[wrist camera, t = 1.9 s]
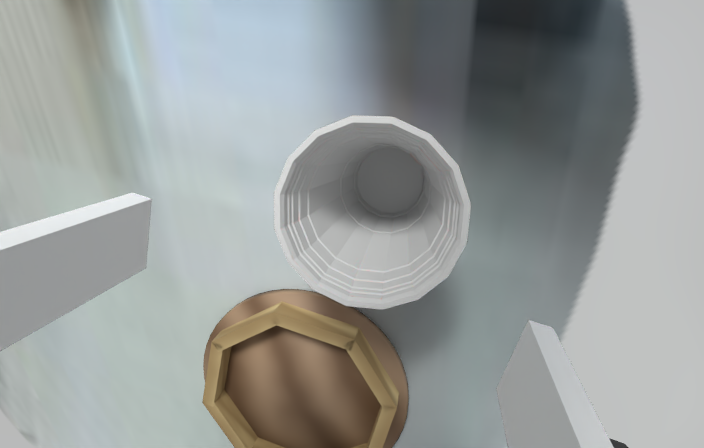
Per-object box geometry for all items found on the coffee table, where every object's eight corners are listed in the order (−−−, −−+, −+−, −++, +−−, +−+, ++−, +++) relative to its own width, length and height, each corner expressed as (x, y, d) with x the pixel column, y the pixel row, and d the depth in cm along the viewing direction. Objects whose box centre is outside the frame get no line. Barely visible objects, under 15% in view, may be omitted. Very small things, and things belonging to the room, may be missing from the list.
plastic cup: (490, 165, 31) (519, 202, 19) (404, 265, 34) (388, 345, 23) (376, 80, 31) (340, 68, 19) (303, 190, 34) (237, 234, 23)
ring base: (337, 253, 35) (328, 266, 33) (447, 435, 39) (448, 461, 36) (171, 336, 42) (153, 353, 39) (277, 486, 45) (267, 511, 42)
